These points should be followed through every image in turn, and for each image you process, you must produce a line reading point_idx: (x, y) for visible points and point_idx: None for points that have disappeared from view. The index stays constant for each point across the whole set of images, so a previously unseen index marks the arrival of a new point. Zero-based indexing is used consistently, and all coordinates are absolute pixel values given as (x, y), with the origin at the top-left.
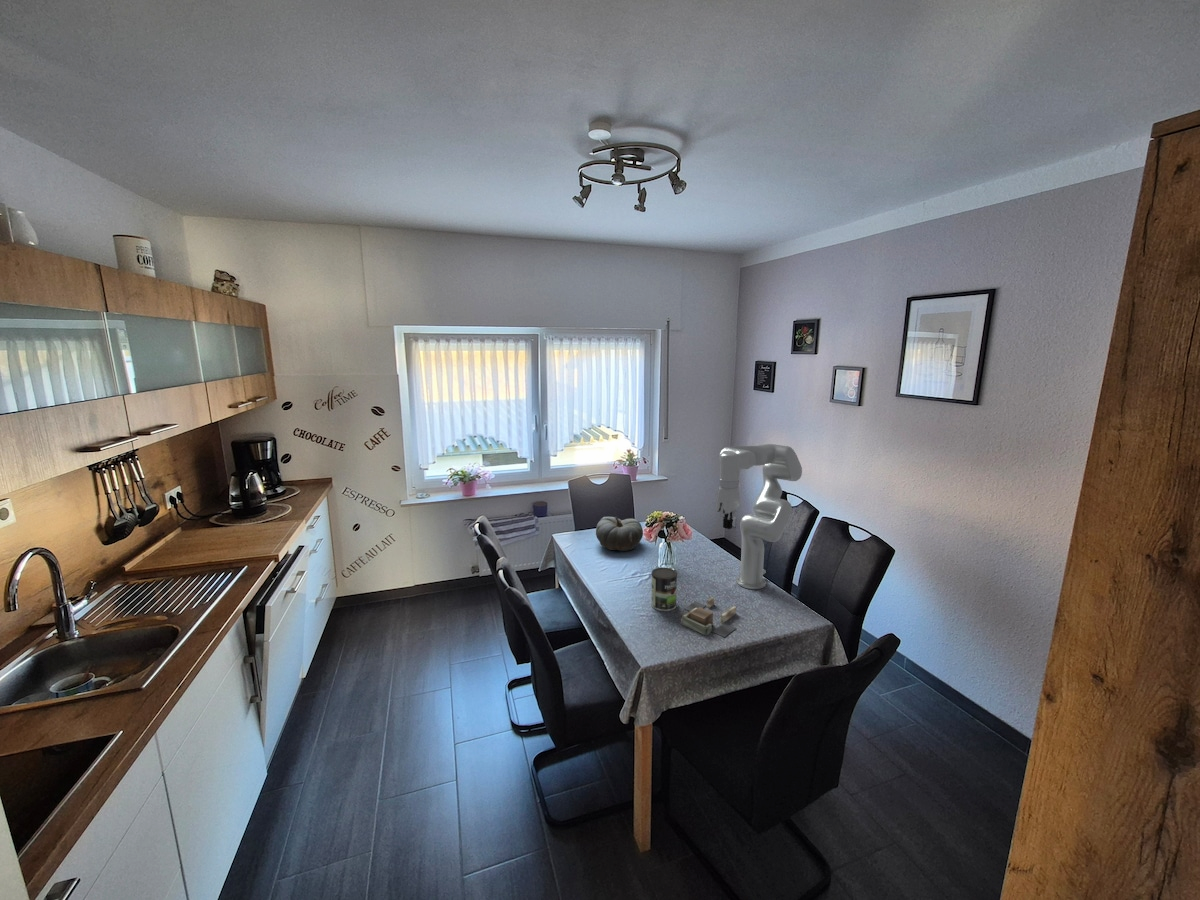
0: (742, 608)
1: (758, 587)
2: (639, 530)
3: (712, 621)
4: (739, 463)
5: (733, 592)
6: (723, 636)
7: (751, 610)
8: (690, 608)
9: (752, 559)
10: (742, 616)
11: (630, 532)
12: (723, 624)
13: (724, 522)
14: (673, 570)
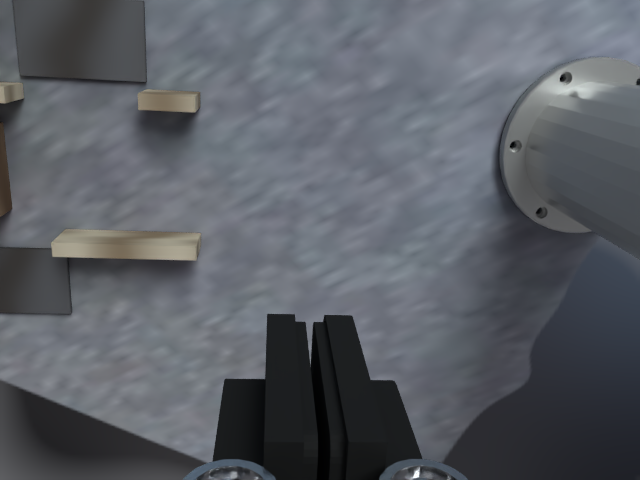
0: (273, 245)
1: (531, 218)
2: None
3: (1, 214)
4: None
5: (408, 123)
6: None
7: (287, 287)
8: (44, 24)
9: (622, 229)
10: (200, 281)
11: None
12: (49, 254)
13: (217, 437)
14: None
